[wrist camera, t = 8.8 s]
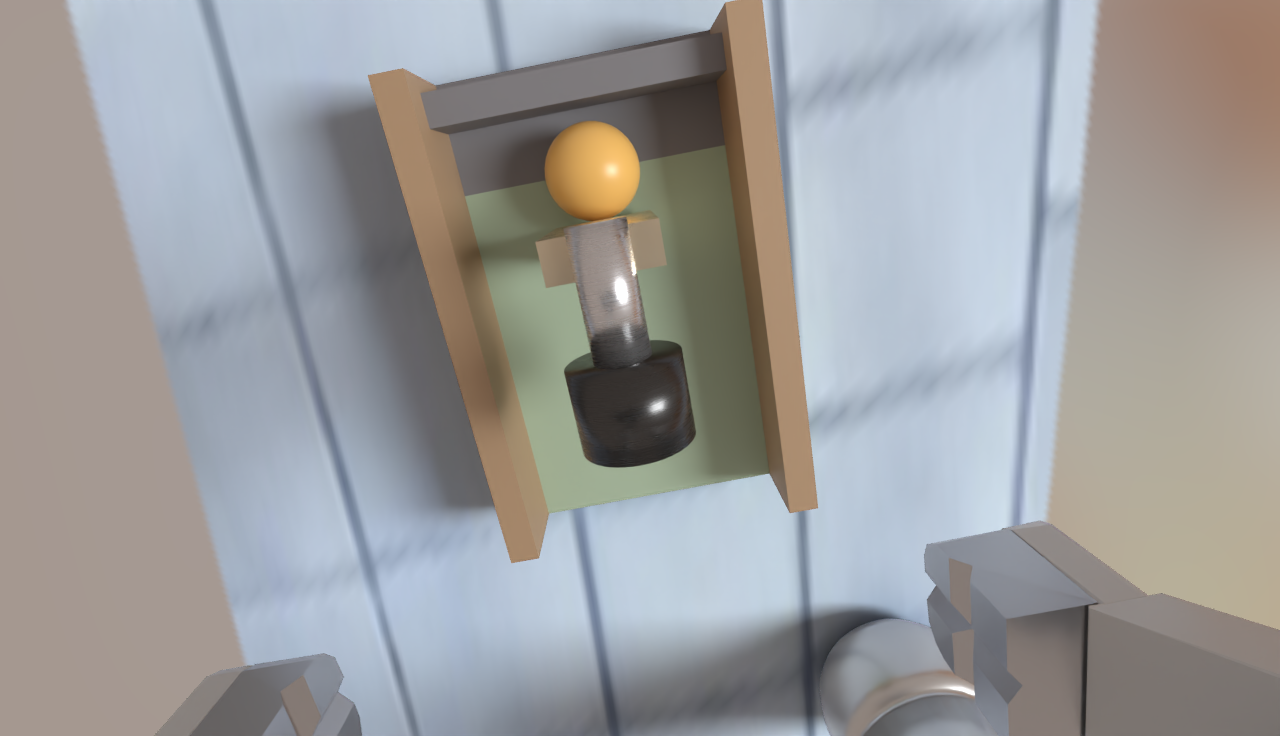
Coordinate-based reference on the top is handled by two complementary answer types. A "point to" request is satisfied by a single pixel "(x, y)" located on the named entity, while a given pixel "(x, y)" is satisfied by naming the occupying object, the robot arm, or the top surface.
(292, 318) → the top surface
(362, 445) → the top surface
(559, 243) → the glass stem black base
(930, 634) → the plastic bottle
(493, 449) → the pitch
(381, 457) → the top surface
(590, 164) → the ball
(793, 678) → the top surface
